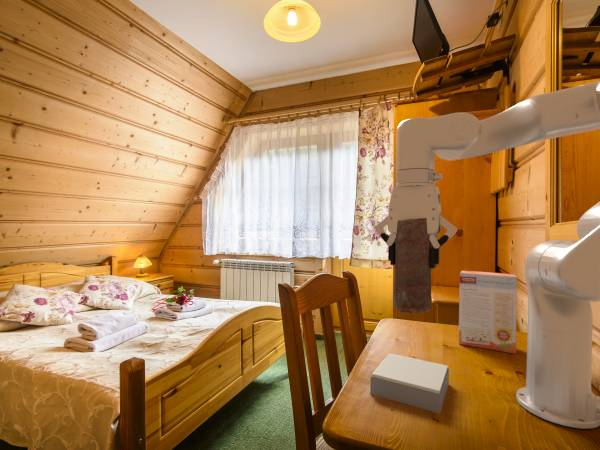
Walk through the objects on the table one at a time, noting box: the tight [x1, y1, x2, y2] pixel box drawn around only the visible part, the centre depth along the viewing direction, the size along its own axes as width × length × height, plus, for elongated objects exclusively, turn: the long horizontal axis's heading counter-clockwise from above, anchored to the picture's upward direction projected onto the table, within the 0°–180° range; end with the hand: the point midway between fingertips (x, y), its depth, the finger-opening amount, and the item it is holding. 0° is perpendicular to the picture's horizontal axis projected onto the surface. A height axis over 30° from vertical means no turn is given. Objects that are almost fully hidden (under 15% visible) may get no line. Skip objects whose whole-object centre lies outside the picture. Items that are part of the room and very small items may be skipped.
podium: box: [369, 352, 450, 415], centre depth 68 cm, size 13×13×4 cm
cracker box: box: [458, 270, 518, 355], centre depth 94 cm, size 14×6×21 cm, turn 59°
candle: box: [393, 218, 432, 314], centre depth 68 cm, size 8×7×20 cm
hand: (412, 265), depth 68 cm, fingers closed on candle, 7 cm apart
